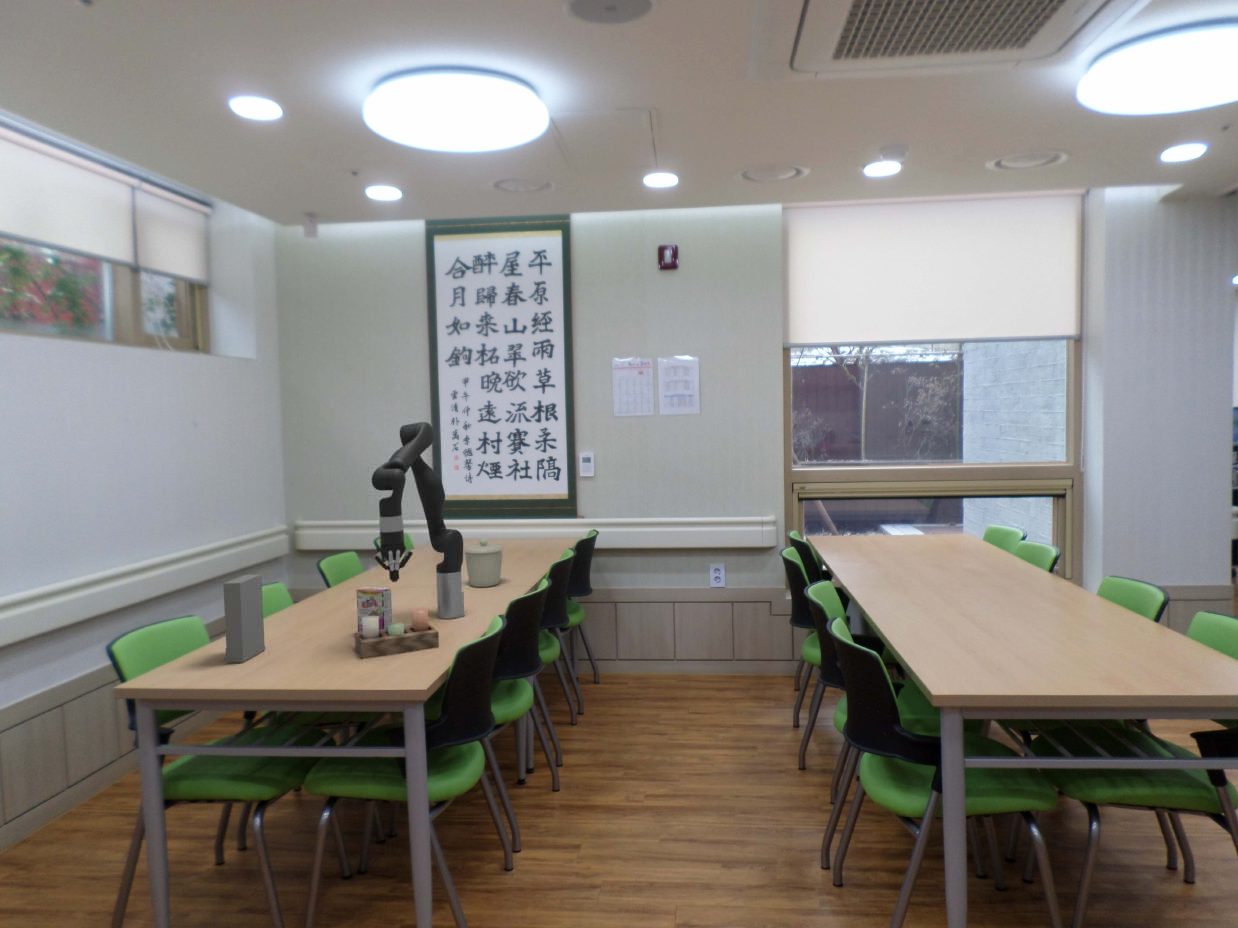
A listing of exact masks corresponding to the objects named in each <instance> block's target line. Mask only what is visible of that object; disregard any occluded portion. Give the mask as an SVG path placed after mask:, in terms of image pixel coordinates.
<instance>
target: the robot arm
mask: <svg viewBox="0 0 1238 928" xmlns="http://www.w3.org/2000/svg"><path fill="white" fill-rule="evenodd" d="M399 438H400V442H401V446H402V447H399V448H398V449H397V450H396V451H394V453H393V454H392V455H391V457H390V458H389V460H388V461H386V462H385V463H383V464H381V465H380V466H378V467H377V468H376V469H375V470H374V472H373V474H372V476H371V484H372V487H373V488H374V489H375V490H377V491H392V493H391V495H390V496H387V497H383V498H381V499H380V500H379V502H378V507H379V508H378V510H379V511H378V512H379V523H378V525H379V526H378V528H379V539H380V541H379V543H380V547H379V550H378V551H379V552H377V553H376V554H374V555H373V556H372V558H373V559H374V560H375V561H376V562H377V563H378V564H379V565H380V566H381V567H382V568H383V569H384V570H385V571H388V572H389V573H388V574H389V580H390V581H391V582H392V583H396V582H398V580H399V579H400V569H403V568H404V567H405V566H406V565H407V563H408V562H409V560H410V559H411V558H412V555H413V552H412V551H411V550H408V549H407V547H406V545H405V534H404V532H405V531H404V530H405V529H404V527H405V526H404V519H403V509H402V499H403V494H404V490H405V485H406V480H407V479H406V473H407V472H408V471H409V469H410V468H411V471H412V475H413V478H414V482H415V486H416V489H417V493H418V496H419V500H420V503H421V505H422V509H423V512H424V518H425V519H426V524H427V530H428V535H429V541H430V544H431V545H430V546H432V549H433V550H434V551H435V552H437V553H440V554H443V560H442V561H441V562H439V563H437V564H436V567H435V569H436V570H435V571H436V572H435V573H436V597H437V598H436V599H437V600H436V601H437V603H436V604H437V617H438V618H439V619H445V620H449V619H456V618H460V617H464V616H465V597H464V596H465V595H464V590H463V585H462V584H463V582H462V567H463V566H462V565H463V564H464V563H463V562H464V551H463V550H464V538H463V535H462V532H460V531H459V530H457V529H452V528H447V527H446V524H445V520H444V518H443V512H444V511H443V510H444V507H445V501H446V493H445V489H444V485H443V482H442V478H441V477H440V475H438V473H437V472H436V471H435V470H434V469H433V468H432V467H430V466H429V464H428V463H426V461H424V459H423V458H422V454H423V453H424V452H425V451H426V450H427V449H428V448H429V447H430V446H431V445H432V444H433V442H434V440H435V433H434V429H433V427H432V425H431V424H430V423H429V422H426V421H420V422H415V423H408V424H404V425H401V427H400V429H399ZM403 555H404V556H403ZM402 556H403V558H402ZM383 558H384V559H385V560H386V561H387V564H386V563H385V562H384V561H383V560H382V559H383ZM401 558H402V559H401ZM400 560H401V561H400Z"/></svg>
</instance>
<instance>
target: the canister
mask: <svg viewBox="0 0 1238 928" xmlns="http://www.w3.org/2000/svg"><path fill="white" fill-rule="evenodd" d="M504 549H505V548H504V547H503V546H501V545H499V544H493V543H488V540H487V539H485V538H483V539H480V540H479V543H478V544H475V545H474V544H473V545H469V546H466V548H463V553H464V556H465V557H464V558H465V562H466V563H465V564H466V569H467V576H468V577H467V578H468V581H469V584H470V585H471V587H475V588H489V587H494V586H497V585H499V583H500V581H501V575H502V574H501V572H502V562H503V561H502V560H503V552H504Z"/></svg>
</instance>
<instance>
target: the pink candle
mask: <svg viewBox="0 0 1238 928" xmlns="http://www.w3.org/2000/svg"><path fill="white" fill-rule="evenodd" d="M428 624H429V610H428V609H426V608H420V609H414V610H412V625H413V632H420V631H427V630H429V625H428Z"/></svg>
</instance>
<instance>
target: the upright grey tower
mask: <svg viewBox="0 0 1238 928" xmlns="http://www.w3.org/2000/svg"><path fill="white" fill-rule="evenodd" d="M262 580H263V577H262V574H245V575H242V576H239V577H237V578H234V579H232V580H229V581H226V582H224V583H223V604H224V605H223V606H224V625H225V644H226V645H225V646H226V647H225V657H226V658H224V663H226V664H230V663H240V664H244V663H245V662H247V661H248V660H250V659H252V658H254V657H255V656H257V655H259V654H260V653H263V652H264V651H265V650H266V646H265V625H264V624H265V623H264V604H263V585H262V584H263V582H262Z"/></svg>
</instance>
